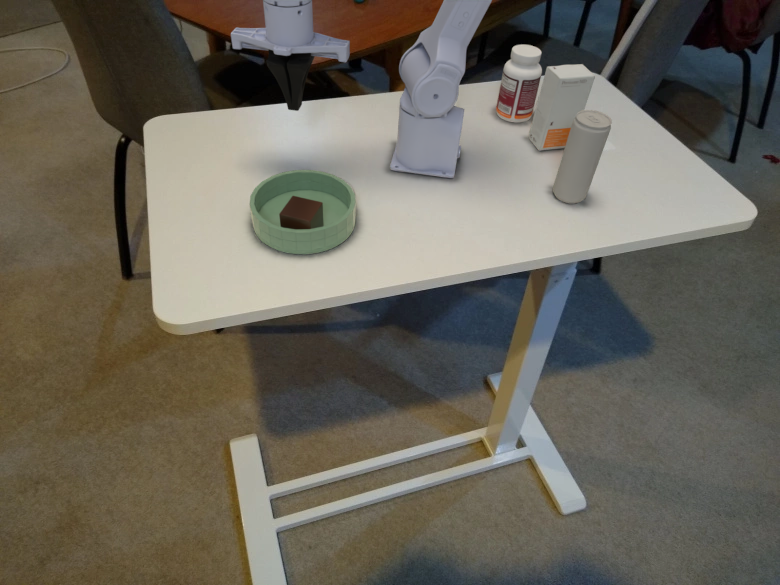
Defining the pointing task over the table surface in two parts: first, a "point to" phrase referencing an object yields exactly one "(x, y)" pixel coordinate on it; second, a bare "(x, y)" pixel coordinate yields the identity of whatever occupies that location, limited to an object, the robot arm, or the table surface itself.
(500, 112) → the pill bottle
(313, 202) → the block
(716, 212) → the table surface
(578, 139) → the beverage can
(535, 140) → the cosmetic box
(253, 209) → the bowl
